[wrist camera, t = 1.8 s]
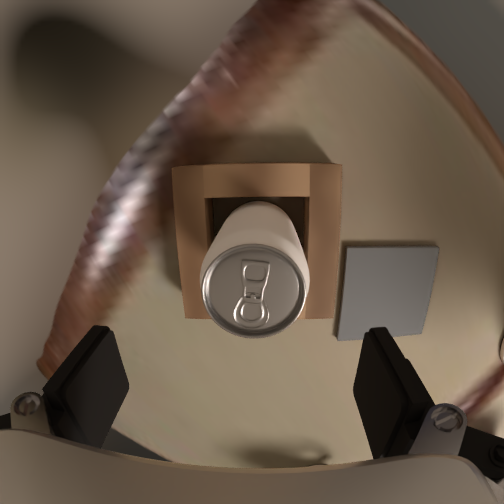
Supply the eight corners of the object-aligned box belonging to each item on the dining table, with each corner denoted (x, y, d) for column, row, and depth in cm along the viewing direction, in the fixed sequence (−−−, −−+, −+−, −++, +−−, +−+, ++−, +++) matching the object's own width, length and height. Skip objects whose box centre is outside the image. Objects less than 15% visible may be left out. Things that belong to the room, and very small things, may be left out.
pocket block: (332, 163, 25) (341, 164, 22) (326, 300, 29) (333, 318, 26) (183, 165, 26) (171, 167, 23) (193, 300, 30) (185, 318, 27)
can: (221, 266, 29) (193, 338, 17) (224, 197, 27) (194, 230, 15) (290, 272, 29) (304, 348, 17) (298, 203, 27) (323, 241, 15)
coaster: (436, 245, 27) (439, 247, 27) (419, 331, 30) (421, 333, 30) (345, 246, 28) (347, 248, 27) (336, 337, 31) (337, 341, 30)
